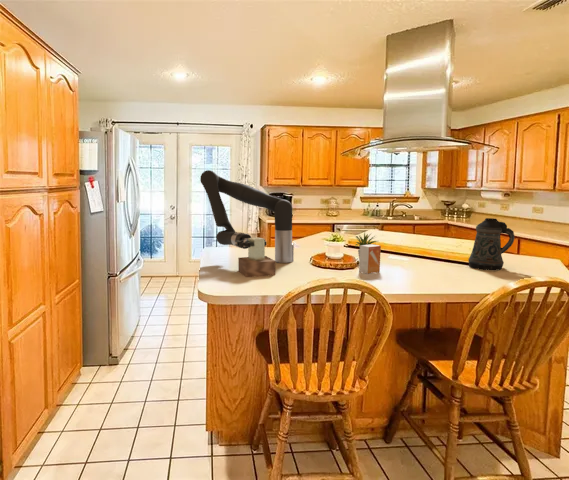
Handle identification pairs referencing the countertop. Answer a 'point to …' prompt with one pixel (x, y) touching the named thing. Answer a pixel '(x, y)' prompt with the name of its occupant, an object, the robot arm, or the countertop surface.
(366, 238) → the house plant
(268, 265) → the walnut block
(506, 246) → the beer stein
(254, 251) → the sage tea tin
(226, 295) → the countertop surface
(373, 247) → the small box
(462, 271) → the countertop surface
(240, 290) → the countertop surface
